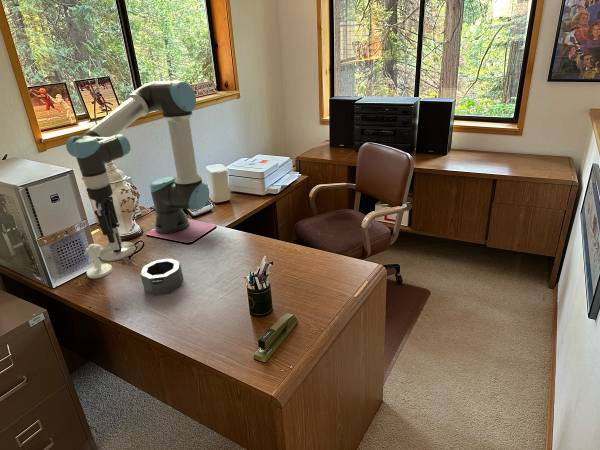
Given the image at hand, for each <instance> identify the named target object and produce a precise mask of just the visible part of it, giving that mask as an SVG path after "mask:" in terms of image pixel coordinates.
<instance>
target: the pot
mask: <svg viewBox="0 0 600 450" xmlns="http://www.w3.org/2000/svg"><path fill="white" fill-rule="evenodd" d="M140 278H141V281H142V285H143V290H144V292H146V293H148V294H150V295H152V296H154V297H156V296H162V295H171V294H172V293H173V292H175V291H177V290H178V289H180V288H181V286H183V282H184V276H183V271H182V266H181V262H180V261H179V260H175V259H174V258H171V257H170V258H164V259H163V258H162V259H156V260H154V261H151V262H150V263H148V264H146V265H144V266H142V269H141V272H140Z"/></svg>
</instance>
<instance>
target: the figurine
mask: <svg viewBox="0 0 600 450" xmlns="http://www.w3.org/2000/svg"><path fill="white" fill-rule="evenodd" d="M103 249H104V248H103V245H100V244H98V243H90V244H89V245H88V247H86V248H85V252H84V256H85V255H87V254H88V256H89V259H88V263H90V264H91V267H90V268H89V269H87V270H86V276H87V277H88V278H90V279H99V278H100V279H101V278H103V277H106V276H107V275H109V274H111V272H112V271H113V266H112V264H110V263H105V262H102V261H101V257H100V252H101V251H102V250H103ZM92 262H93V264H92Z"/></svg>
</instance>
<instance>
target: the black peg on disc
mask: <svg viewBox="0 0 600 450" xmlns="http://www.w3.org/2000/svg"><path fill="white" fill-rule="evenodd" d="M115 235H116V238H117V241H118V245H119V248H120V249H119V250H111V248H110V245H107V246H106V247H104V248H103V250H102V251H101V252H100V257H99V258H100V260H102V261H106V262H114V261H121V260H123V259H126V258H128V257H129V256H131V255H133V254H134V253H135V252H136V250H137V248H136V245H135V244H134V243H133V242H129V241H121V242H122V245H121V244H120V241H119V237H118V234H117V233H115Z"/></svg>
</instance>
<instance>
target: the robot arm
mask: <svg viewBox="0 0 600 450" xmlns="http://www.w3.org/2000/svg"><path fill="white" fill-rule="evenodd" d="M196 96H197V95H196V93H195V90H194V89H193V87H192V85H190V84H189V83H188V82H186V81H183V80H166V81H165V80H164V81H163V80H162V81H157V80H155V81H151V82H148V83H146V84H144V85H141V86H140V87H138V88H137V89H135V90H134V91H133V92H131V93H130V94H129V95H127V97H126V100H125V101H124V102H123V103H122V104H120V105H119V106H118V107H117V108H115V109H113V110H112V111H111V112H110V113H108V114H107V115H106V116H104V117H103V118H102V119H101V120H99V121H98V122H97V123H96V124H94V125H93V126H92V127H90V128H89V129H88V130H86V131H85V132H84V133H82V134H81V135H75V136H74V135H73V136H70V137H69V138H68V139H67V140H66V145H65V147H66V148H65V149H66V151H67V153H68V154H69V155H70V156H72V157H74V158H76V162H77V164H78V167H79V170H80V173H81V176H82V177H81V180H82V181H83V182H84V185H85V187H86V193H87V196H88V199H90V200H92V201H95V208H96V210H94V215H95V216H96V219H97V221H98V224H99V226H100V229H101V232H102V235H103V236H106V237H107V241H108V244H109V245H108V246H110V248H111V250H119V249H120V248H119V245H118V241H117V238H116V235H115V233H117V234H118V237H119V241H120V244H121V245H122V242H123V241H122V238H121V236H120V233H119V229H118V228H119V227H120V223H119V219H118V215H117V212H116V208H115V205H114V198H113V196H112V195H113V188H112V185H111V183H110V178H109V174H108V171H107V167H106V164H107V163H110V162H113V161H115V160H116V161H117V160H118V159H120V158H123V157H125V156H127V155H128V154H129V153H130V151H131V144H130V143H131V142H130V141H129V139H128V138H127V137H126V136H125V135H123V134H121V133H122V132H123V131H124V130H126V128H128V127H129V126H130V125H132V124H133V123H135V121H136V120H138V119H140V117H145V116H147V115H148V114H149V113H152V112H162V117H163V118H164V119H165V120H166V121H167V124H168V130H169V136H170V142H171V148H172V153H173V160H174V167H175V171H176V177H175V176H166V177H162V178H158V179H156V180H153V181H152V182H151V183H150V186H149V188H150V195H151V198H152V201H153V207H154V210H155V219H154V220H155V221H154V227H155V228H154V229H155V231H156V233H157V232H158V233H160V234H172V233H178V232H180V231H183V230H184V229H186V228H187V227H188V226H189V219H188V217H187V215H186V213H185V212H184V210H190V211H193V210H195V211H196V210H198V211H199V210H202V209H203V208H204V207H206V205H207V203H208V201H209V199H210V198H209V197H210V188H209V186H208V185H207V184H205V183H203V180H202V179H203V178H202V177H201V176H200V175H199V174H198V170H197V164H196V163H197V162H196V157H195V149H194V144H193V143H194V142H193V137H192V129H191V123H190V122H191V121H190V119H191V117H192V116H193V110H194V109H195V108H196V104H197V97H196ZM183 209H184V210H183Z"/></svg>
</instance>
